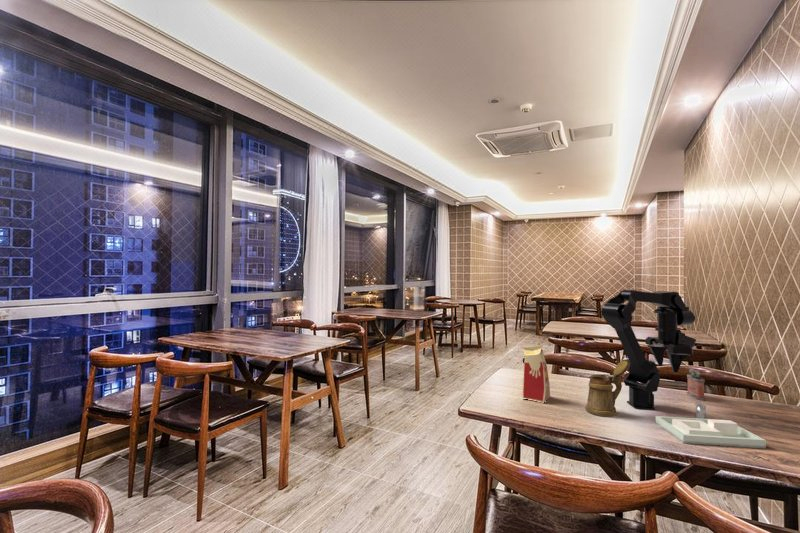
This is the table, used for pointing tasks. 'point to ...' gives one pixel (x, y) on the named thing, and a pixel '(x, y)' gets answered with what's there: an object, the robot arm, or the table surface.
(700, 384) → the lighter
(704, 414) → the grey knob with bar
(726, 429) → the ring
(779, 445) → the table surface
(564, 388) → the table surface
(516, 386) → the table surface
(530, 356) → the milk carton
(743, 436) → the tray
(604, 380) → the wooden mug
